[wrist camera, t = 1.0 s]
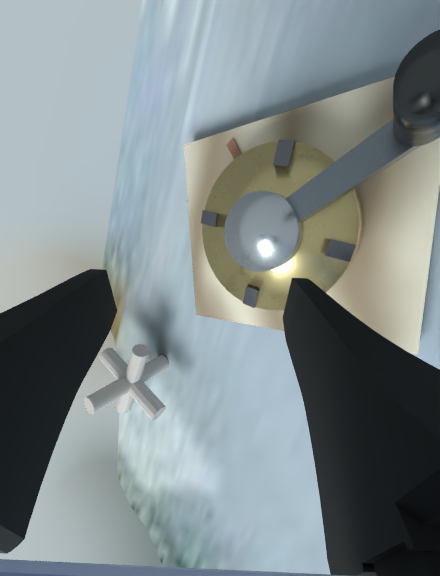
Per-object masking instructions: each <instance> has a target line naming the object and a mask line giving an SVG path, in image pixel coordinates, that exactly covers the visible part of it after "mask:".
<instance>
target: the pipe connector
mask: <svg viewBox="0 0 440 576" xmlns="http://www.w3.org/2000/svg"><path fill="white" fill-rule="evenodd" d="M149 351H150V350H149V348H148V347H147V346H145V345H142V344H138V345H135V346H134V347H133V349H132V352H131V356H130V359H129V363H128V365H127V364H126V363H125V362H124V360H123V359H122V358H121V357H120V356H119V355H118V354H117V353H116V352H115V351H114V350H113V348H107V349H105V350H104V351H103V352H102V353H101V354H100V356H99V359H100V360H101V361H102V362H103V363H104V365H105V366H106V367H107V368H108V369H109V370H110V372H111V373H112V374H113V375H114V376H115V377H116V379H117V380H116V381H114V382H112V383H111V384H109V385H107V386H106V387H104V388H102V389H100V390H98V391H96V392H95V393H93V394H91V395H89V396H87V397H86V398H85V399H84V404H85V407H86V409H87V411H88V412H89V413H90V414H91V415H93V414H95V413H96V412H98V411H99V410H101V409H103V408H104V407H106V406H107V405H109V404H110V403H112V402H114V401H115V400H117V399H118V402H117V406H116V409H117V411H118V412H120V413H126V412H128V411H129V410H130V409H131V407H132V403H133V400H135V401H136V402H137V403H138V404H139V405H140V407H141V408H142V409H143V410H144V411H145V412H146V414H147V415H148V416H149V417H150V418H151V419H152V420H155V419H157V418H158V417H159V416H160V415H161V414H162V413H163V411H164V410H165V407H166V406H165V405H164V404H163V403H162V402H161V401H160V400H159V399H158V398H157V397H156V396H155V394H154V393H153V392H152V391H151V390H150V389H149V388H148V387H147V386H146V385H145V383H144V382H145V381H147V380H148V379H150V378H152V377H153V376H155V375H156V374H158V373H160V372H161V371H163V370H164V369H166V368H167V367H168V365H169V363H168V360H167V358H166V357H165V356H163V355H160V356H159V357H157V358H155V359H153V360H152V361H150V362H148V363H146V361H147V358H148V355H149Z"/></svg>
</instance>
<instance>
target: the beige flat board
mask: <svg viewBox="0 0 440 576" xmlns="http://www.w3.org/2000/svg"><path fill="white" fill-rule="evenodd" d="M394 78H395V76H394V77H391V78H388V79H385V80H382V81H379V82H376V83H373V84H369V85H366V86H363V87H360V88H357V89H354V90H351V91H348V92H345V93H342V94H339V95H336V96H332V97H329V98H326V99H323V100H320V101H317V102H314V103H311V104H308V105H305V106H302V107H299V108H296V109H292V110H289V111H286V112H283V113H280V114H277V115H274V116H271V117H268V118H265V119H262V120H259V121H256V122H252V123H249V124H246V125H243V126H240V127H237V128H234V129H231V130H228V131H225V132H222V133H219V134H215V135H212V136H209V137H206V138H203V139H200V140H197V141H194V142H191V143H188V144H185V145H184V157H185V170H186V184H187V197H188V211H189V224H190V238H191V251H192V265H193V278H194V292H195V305H196V315H199V316H204V317H210V318H216V319H221V320H227V321H232V322H238V323H243V324H249V325H255V326H260V327H266V328H271V329H277V330H283V331H284V324H283V314H284V310H277V311H276V310H265V309H260V308H257V307H255V308H253V307H250V306H248V305H245V304H243V302H242V301H241V300H239V299H237V298H236V297H234V296H233V295H232V294H231V293H230V292H228V291H227V290H226V289H225V288H224V286H223V285H222V284H221V283H220V282H219V280H218V279H217V278H216V276H215V274H214V273H213V271H212V269H211V267H210V265H209V262H208V260H207V257H206V254H205V249H204V245H203V236H202V224H201V218H202V210H205V206H206V202H207V199H208V196H209V194H210V191H211V189H212V187H213V185H214V184H215V182H216V180H217V179H218V177H219V176H220V174H221V173H222V172H223V171H224V169H225V168H226V167H227V166H228V165H229V164H230V163H231V162H232V161H233V160H234V159H236V158H237V157H238V156H240V155H241V154H243V153H244V152H245V151H247V150H249V149H251V148H253V147H255V146H258V145H261V144H264V143H268V142H274V141H278V140H295V141H296V142H300V143H304V144H307V145H310V146H312V147H314V148H317V149H319V150H321V151H322V152H323V153H325V154H326V155H328V156H329V157H330V158H332V159H333V160H334V161H337V160H338V159H339V158H341V157H342V156H343V155H345V154H346V153H347V152H349V151H350V150H351V149H353V148H354V147H355V146H357V145H358V144H359V143H361V142H362V141H363V140H365V139H366V138H367V137H369V136H370V135H371V134H373V133H374V132H376V131H377V130H378V129H380V128H381V127H382V126H384V125H385V124H386V123H388V122H389V121H390V120H392V119H393V83H394ZM439 187H440V138H438V139H436V140H435V141H433V142H431V143H428V144H426V145H422V146H420V147H419V148H417V149H416V150H414V151H412V152H411V153H409V154H408V155H406V156H405V157H403V158H402V159H400V160H399V161H397V162H395V163H394V164H392V165H391V166H389V167H388V168H386V169H385V170H383V171H382V172H380V173H378V174H377V175H375V176H374V177H372V178H371V179H369V180H368V181H366V182H365V183H363V184H361V185H360V186H358V187H357V188H355V189H356V191H357V193H358V196H359V199H360V202H361V206H362V213H363V231H362V238H361V242H360V245H359V249H358V251H357V253H356V256H355V258H354V260H353V262H352V263H351V265H350V267H349V268H348V270H347V271H346V272H345V273H344V275H343V276H342V277H341V278H340V279H339V280H338V281H337V282H336V283H335V284H334V285H333V286H332V287H331V288H330V289H329V290H328V291H327V292H326V293H327V294H328V295H329V296H330V297H331V298H333V299H334V300H335V301H336V302H337V303H339V304H340V305H341V306H342V307H344V308H345V309H346V310H347V311H349V312H350V313H351V314H352V315H354V316H355V317H356V318H358V319H359V320H360V321H362V322H363V323H365V324H366V325H367V326H369V327H370V328H371V329H373V330H374V331H376V332H377V333H379V334H380V335H382V336H383V337H385V338H386V339H388V340H389V341H391V342H393V343H394V344H396V345H397V346H399V347H400V348H402V349H404V350H405V351H407V352H409V353H411V354H417V355H418V349H419V342H420V334H421V326H422V318H423V311H424V303H425V295H426V288H427V280H428V272H429V264H430V257H431V249H432V241H433V234H434V226H435V218H436V210H437V203H438V195H439Z"/></svg>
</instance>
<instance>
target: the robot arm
mask: <svg viewBox="0 0 440 576" xmlns="http://www.w3.org/2000/svg"><path fill="white" fill-rule="evenodd" d="M116 312H117V308H116V305H115V301H114V297H113V293H112V290H111V286H110V282H109V278H108V275H107V271H106V270H97V269H90V270H87V271H85V272H83V273H81V274H79V275H76V276H75V277H72V278H70V279H68V280H67V281H65V282H63V283H61V284H59V285H57V286H55V287H53V288H51V289H49V290H47V291H45V292H44V293H42V294H40V295H38V296H36V297H34V298H32V299H30V300H27V301H25V302H23V303H21V304H19V305H17V306H15V307H13V308H11V309H9V310H7V311H5V312H2V313H0V553H8V552H10V551H12V550H13V549H14V548H15V547H17V546H18V545H19V544H20V543H21V542H22V541H23V540H24V538H25V535H26V531H27V528H28V524H29V521H30V518H31V515H32V512H33V508H34V506H35V503H36V499H37V496H38V493H39V490H40V486H41V484H42V481H43V478H44V475H45V473H46V470H47V467H48V464H49V461H50V458H51V455H52V453H53V450H54V447H55V445H56V442H57V440H58V437H59V434H60V432H61V429H62V427H63V424H64V422H65V419H66V416H67V414H68V412H69V410H70V407H71V405H72V402H73V400H74V398H75V395H76V393H77V391H78V389H79V387H80V385H81V383H82V381H83V379H84V378H85V376H86V374H87V372H88V370H89V368H90V367H91V365H92V363H93V361H94V359H95V358H96V356H97V354H98V352H99V350H100V348H101V347H102V344H103V343H104V341H105V339H106V337H107V335H108V334H109V331H110V329H111V326H112V324H113V321H114V318H115V315H116ZM283 324H284V331H285V337H286V342H287V345H288V349H289V352H290V356H291V359H292V363H293V366H294V369H295V373H296V376H297V379H298V383H299V386H300V389H301V393H302V397H303V401H304V405H305V410H306V416H307V421H308V426H309V431H310V437H311V443H312V449H313V455H314V461H315V467H316V474H317V481H318V487H319V494H320V501H321V509H322V517H323V525H324V533H325V541H326V550H327V559H328V564H329V568H330V573H331V575H325V574H304V573H282V572H261V571H239V570H218V569H197V568H175V567H154V566H132V565H110V564H89V563H67V562H47V561H45V562H44V561H25V560H2V559H0V576H440V370H439V369H437V368H435V367H433V366H432V365H430V364H428V363H426V362H424V361H423V360H421V359H419V358H417V357H415V356H414V355H412V354H410V353H409V352H407V351H405V350H404V349H402V348H400V347H399V346H397V345H396V344H394V343H393V342H391V341H389V340H388V339H386V338H385V337H383V336H382V335H380V334H379V333H377V332H376V331H374V330H373V329H371V328H370V327H369V326H367V325H366V324H365V323H363V322H362V321H360V320H359V319H358V318H356V317H355V316H354V315H352V314H351V313H350V312H349V311H347V310H346V309H345V308H344V307H342V306H341V305H340V304H339V303H337V302H336V301H335V300H334V299H333V298H331V297H330V296H329V295H328V294H327V293H325V292H324V291H323V290H322V289H321V288H319V287H318V286H317V285H316V284H315V283H313V282H312V281H311V280H309V279H308V278H292V280H291V284H290V288H289V293H288V297H287V301H286V305H285V310H284V314H283Z"/></svg>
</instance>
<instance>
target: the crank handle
mask: <svg viewBox="0 0 440 576" xmlns="http://www.w3.org/2000/svg"><path fill="white" fill-rule="evenodd" d="M438 138H440V30H438V31H435V32H434V33H432V34H430V35H428V36H427V37H425V38H424V39H423V40H421V41H420V42H419V43H418V44H417V45H415V46H414V47H413V48H412V49H411V51H410V52H409V53H408V54H407V55H406V57H405V58H404V59H403V61H402V62H401V64H400V66H399V68H398V70H397V72H396V75H395V78H394V83H393V119H392V120H390V121H389V122H388V123H386V124H385V125H384V126H382V127H381V128H380V129H378V130H377V131H376V132H374V133H373V134H371V135H370V136H369V137H367V138H366V139H365V140H363V141H362V142H361V143H359V144H358V145H357V146H355V147H354V148H353V149H351V150H350V151H349V152H347V153H346V154H345V155H343V156H342V157H341V158H339V159H338V160H337V161H334V160H333V159H332V158H330V157H329V156H328V155H326V154H325V153H323V152H322V151H321V150H319V149H317V148H314V147H312V146H310V145H307V144H304V143H300V142H296V141H295V140H278V141H274V142H268V143H264V144H261V145H258V146H255V147H253V148H251V149H249V150H247V151H245V152H244V153H243V154H241V155H240V156H238V157H237V158H236V159H234V160H233V161H232V162H231V163H230V164H229V165H228V166H227V167H226V168H225V169H224V171H223V172H222V173H221V174H220V176H219V177H218V179H217V180H216V182H215V184H214V185H213V187H212V189H211V191H210V194H209V196H208V199H207V202H206V206H205V210H202V218H201V224H202V236H203V245H204V249H205V254H206V257H207V260H208V262H209V265H210V267H211V269H212V271H213V273H214V274H215V276H216V278H217V279H218V280H219V282H220V283H221V284H222V285H223V286H224V288H225V289H226V290H227V291H228V292H230V293H231V294H232V295H233V296H234V297H236V298H237V299H239V300H241V301H242V302H243V304H245V305H248V306H250V307H253V308H255V307H257V308H260V309H265V310H276V311H277V310H285V305H286V301H287V297H288V293H289V288H290V284H291V280H292V278H308V279H309V280H311V281H312V282H313V283H315V284H316V285H317V286H318V287H319V288H321V289H322V290H323V291H324V292H325V293H326V292H327V291H328V290H329V289H330V288H331V287H332V286H333V285H334V284H335V283H336V282H337V281H338V280H339V279H340V278H341V277H342V276H343V275H344V273H345V272H346V271H347V270H348V268H349V267H350V265H351V263H352V262H353V260H354V258H355V256H356V253H357V251H358V249H359V245H360V242H361V238H362V231H363V213H362V206H361V202H360V199H359V196H358V193H357V191H356V189H355V188H357V187H358V186H360V185H361V184H363V183H365V182H366V181H368V180H369V179H371V178H372V177H374V176H375V175H377V174H378V173H380V172H382V171H383V170H385V169H386V168H388V167H389V166H391V165H392V164H394V163H395V162H397V161H399V160H400V159H402V158H403V157H405V156H406V155H408V154H409V153H411V152H412V151H414V150H416V149H417V148H419V147H420V146H422V145H426V144H428V143H431V142H433V141H435V140H436V139H438Z"/></svg>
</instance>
